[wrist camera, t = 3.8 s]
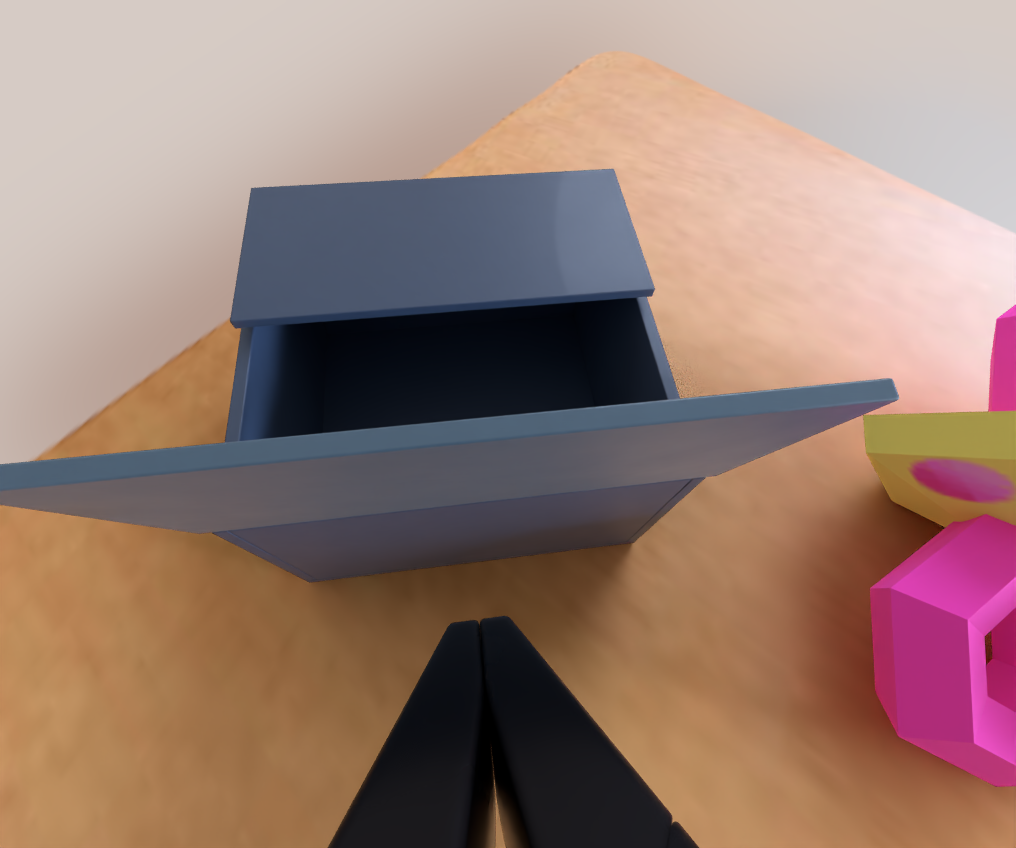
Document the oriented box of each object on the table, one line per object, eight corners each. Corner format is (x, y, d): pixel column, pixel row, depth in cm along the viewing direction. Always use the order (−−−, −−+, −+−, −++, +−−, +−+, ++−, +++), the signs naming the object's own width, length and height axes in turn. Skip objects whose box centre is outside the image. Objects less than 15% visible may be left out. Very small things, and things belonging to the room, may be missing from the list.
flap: (713, 462, 13) (716, 475, 13) (198, 519, 12) (198, 534, 11) (893, 376, 7) (901, 399, 7) (-56, 468, 6) (-62, 496, 6)
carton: (634, 542, 20) (718, 466, 13) (308, 582, 19) (194, 525, 11) (578, 313, 25) (614, 166, 18) (322, 333, 24) (249, 186, 17)
